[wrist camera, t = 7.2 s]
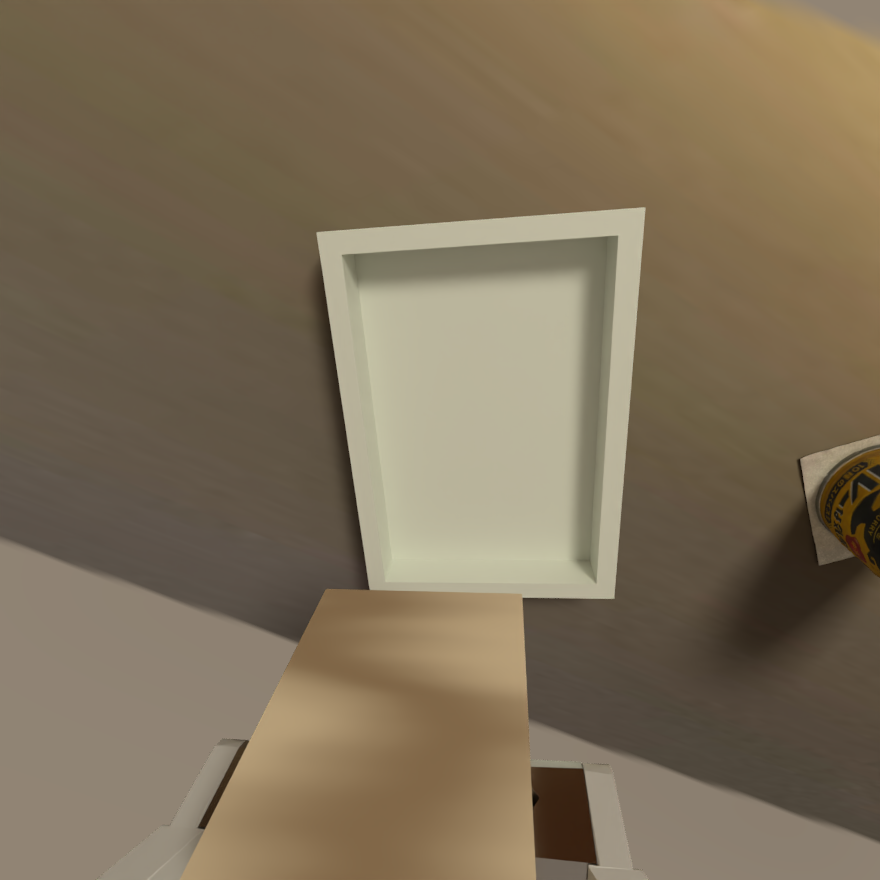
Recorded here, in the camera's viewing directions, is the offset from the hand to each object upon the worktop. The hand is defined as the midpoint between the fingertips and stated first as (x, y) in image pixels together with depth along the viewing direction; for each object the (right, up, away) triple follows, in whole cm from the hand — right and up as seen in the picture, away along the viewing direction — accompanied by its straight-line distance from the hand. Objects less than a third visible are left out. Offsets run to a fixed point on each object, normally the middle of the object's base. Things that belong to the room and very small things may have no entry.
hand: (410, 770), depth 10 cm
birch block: (0, +1, +2) cm, 3 cm away
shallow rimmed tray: (+3, +8, +18) cm, 20 cm away
